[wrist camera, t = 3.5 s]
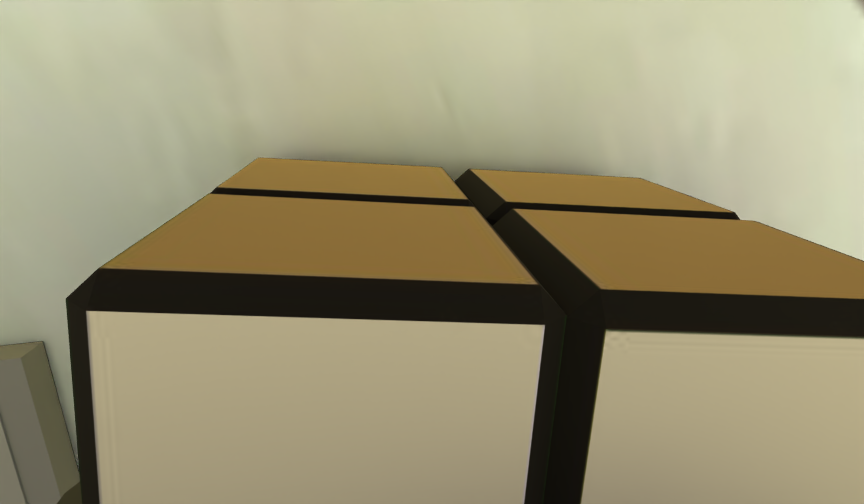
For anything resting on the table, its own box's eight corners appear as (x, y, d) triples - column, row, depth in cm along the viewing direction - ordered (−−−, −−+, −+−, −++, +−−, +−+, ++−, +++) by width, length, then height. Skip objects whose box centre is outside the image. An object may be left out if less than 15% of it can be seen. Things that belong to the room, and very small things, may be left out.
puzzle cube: (597, 513, 19) (828, 957, 9) (250, 514, 18) (110, 1014, 8) (647, 175, 16) (1035, 311, 7) (247, 154, 15) (42, 277, 6)
